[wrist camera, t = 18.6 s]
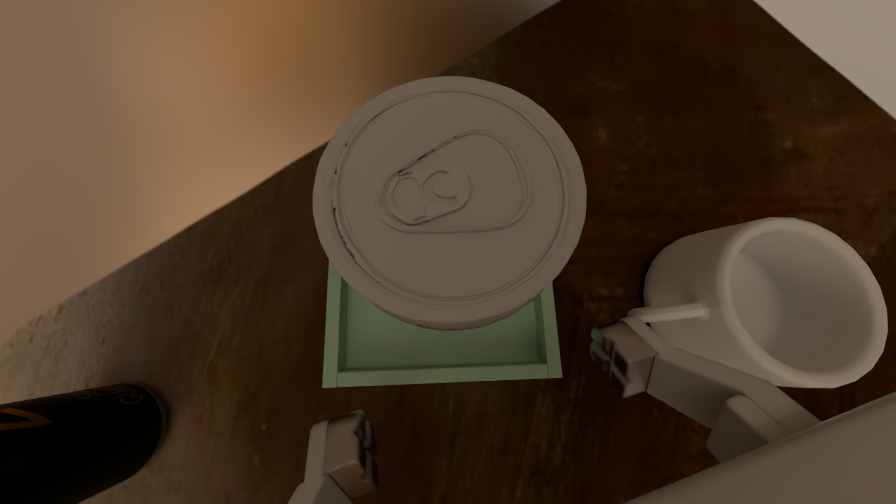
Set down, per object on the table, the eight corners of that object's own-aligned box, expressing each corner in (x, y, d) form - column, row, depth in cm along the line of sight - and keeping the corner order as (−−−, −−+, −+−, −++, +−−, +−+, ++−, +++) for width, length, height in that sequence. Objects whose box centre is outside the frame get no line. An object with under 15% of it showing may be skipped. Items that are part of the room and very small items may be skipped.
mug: (749, 230, 23) (854, 197, 17) (798, 370, 21) (936, 386, 15) (590, 248, 23) (643, 220, 17) (623, 394, 20) (698, 422, 15)
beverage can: (501, 275, 21) (644, 156, 7) (452, 347, 20) (494, 398, 5) (432, 227, 22) (422, 21, 7) (381, 295, 21) (244, 214, 6)
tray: (334, 381, 20) (322, 387, 18) (342, 207, 23) (332, 193, 20) (549, 372, 21) (562, 377, 18) (532, 203, 23) (542, 189, 21)
